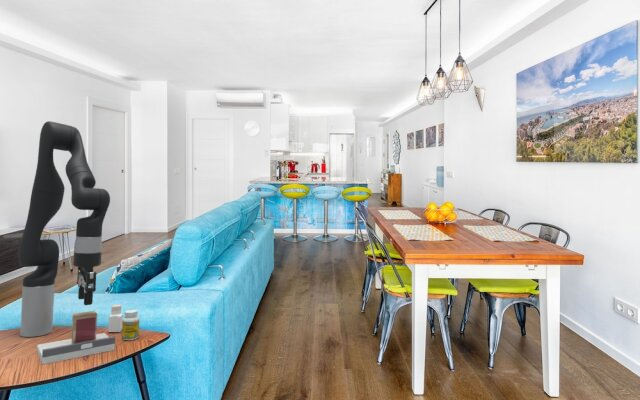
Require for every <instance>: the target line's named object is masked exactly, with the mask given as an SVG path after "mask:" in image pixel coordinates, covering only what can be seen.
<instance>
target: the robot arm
mask: <svg viewBox="0 0 640 400" xmlns="http://www.w3.org/2000/svg"><path fill="white" fill-rule="evenodd" d="M38 143H39V144H38V151H37V152H38V154H37V164H36V170H35V175H34V179H33V180H34V181H33V184H32V188H31V189H32V190H31V195H30V201H29V208H28V213H27V217H26V222H25V226H24V230H23V233H22V235H21V239H20V242H19V246H18V251H17V257H18V262H19V264H20V265H21V266H22V267H24V268H31V267H32V268H33V267H37V268H36V269H35V270H34V271H33V272H32V273H30V274H28V275H26V276H25V277H23V279H22V292H21V311H20V313H21V314H20V315H21V316H20V330H19V335H20V336H21V337H22V338H23V337H24V338H34V337H41V336H45V335H47V334H48V335H49V334H50V333H52V332H53V324H54V323H53V322H54V302H55V281H56V278H57V276H58V269H59V261H60V247H59V244H58V243H57V241H55V240H54V239H50V238H48V239H47V238H46V239H41V238H42V234H43V231H44V230H45V227H47V225H48V224H49V222H50V221H51V220H52V219H53V218H54V216H56V214H57V213H58V212H59V210H60V209H61V207H62V205H63V200H64V195H65V185H64V181H63V180H62V177H61V176H60V174H59V172H58V170H57V168H56V166H55V162H54V150H58V151H62V152H63V151H64V152H69V153H70V155H71V157H70V158H69V159H68V160H67V162H66V165H65V174H66V175H65V176H66V177H67V179H68V181H69V182H68V183H69V184H70V188H71V189H70V190H71V196H70V197H71V198H70V199H71V204H72V206H73V207H74V208H75V209H77V210H81V211H92V213H91V215H88V216H85V217H80V218H78V219H77V221H76V230H75V241H74V249H73V261H72V263H73V266H74V267H76V268H77V278H76V285H77V287H78V294H77V295H78V296H77V297H78V300H83V305H84V306H90V305H92V304H93V302H94V299H93V297H94V292H96V291H97V289H96V286H97V285H96V284H97V271H94V268H95V267H99V266H101V264H102V253H103V251H102V250H103V241H102V237H103V235H102V234H103V223H104V220H105V217H106V214H107V211H108V209H109V206H110V203H111V195H110V193H109V191H108V190H106V189H105V188H96V187H95V186H96V183H97V181H96V178H95V176H94V174H93V171H92V169H91V168H90V166H89V163H88V160H87V156H86V151H85V147H84V142H83V139H82V135H81V132H80V130H79V129H78V128H77V127H75V126H72V125H68V124H66V123H64V124H63V123H59V122H55V121H45V122H44V123H43V125H42V127H41V129H40V133H39V141H38Z"/></svg>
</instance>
